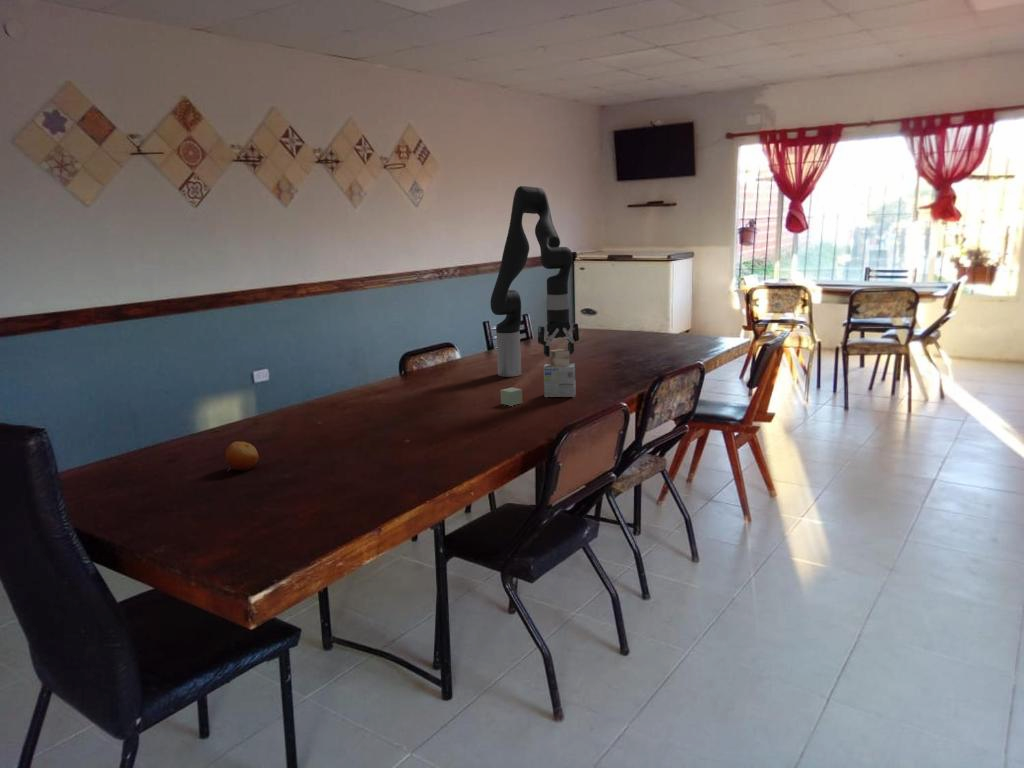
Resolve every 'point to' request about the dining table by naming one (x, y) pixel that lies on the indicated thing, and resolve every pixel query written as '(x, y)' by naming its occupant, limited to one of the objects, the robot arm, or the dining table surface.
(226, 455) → the fruit
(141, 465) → the dining table surface
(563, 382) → the light bulb box
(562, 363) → the beech block
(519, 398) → the sage block
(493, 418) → the dining table surface
